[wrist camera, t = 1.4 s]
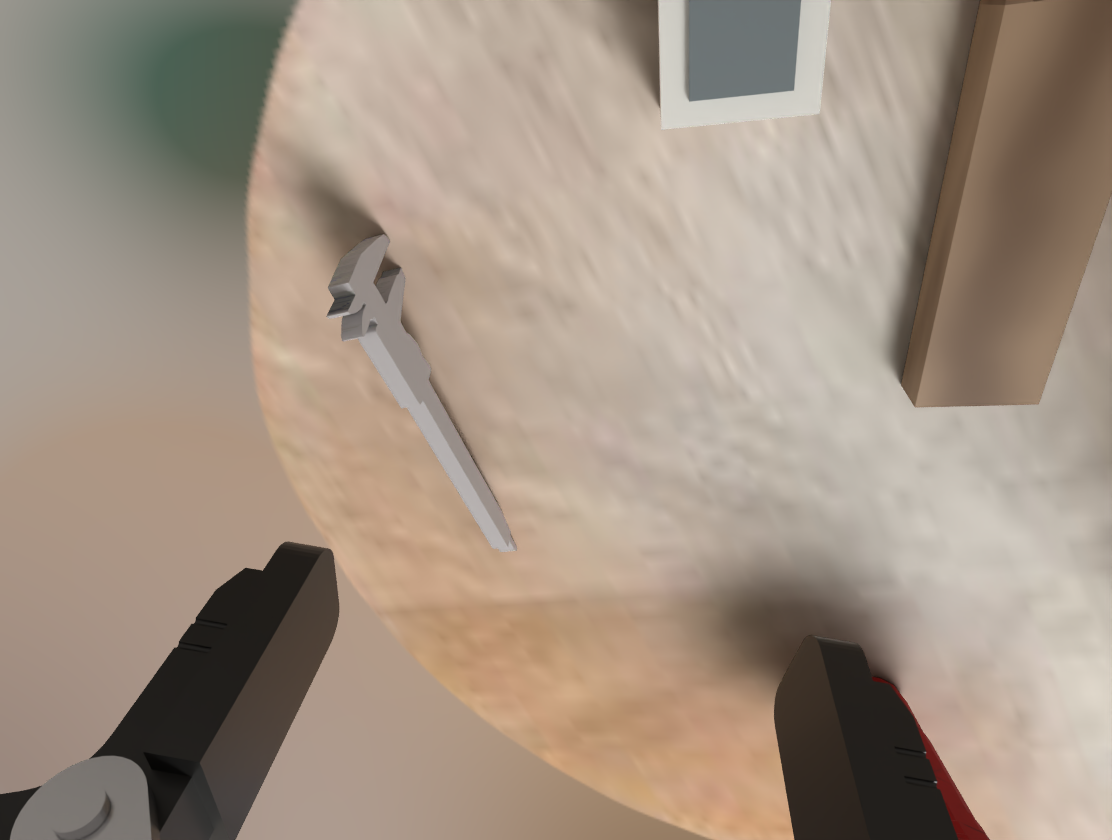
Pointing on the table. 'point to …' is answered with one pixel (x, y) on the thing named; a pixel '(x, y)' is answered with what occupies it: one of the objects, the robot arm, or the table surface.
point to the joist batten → (1015, 204)
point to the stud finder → (740, 60)
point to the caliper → (408, 373)
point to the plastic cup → (948, 789)
